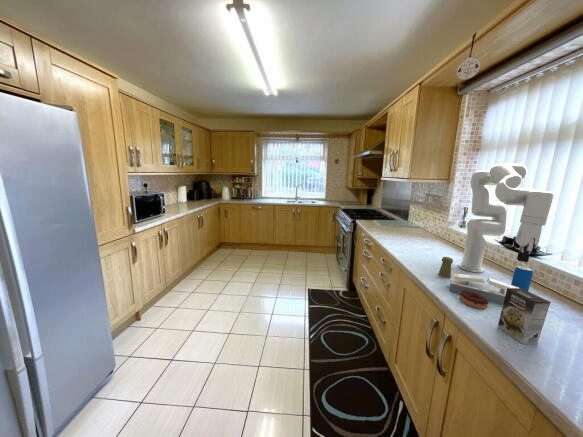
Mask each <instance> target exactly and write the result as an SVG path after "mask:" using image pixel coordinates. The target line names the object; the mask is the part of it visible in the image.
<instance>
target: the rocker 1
mask: <svg viewBox="0 0 583 437" xmlns="http://www.w3.org/2000/svg"><path fill="white" fill-rule="evenodd" d="M453 277H454V279H455V280H460V281H469V282H472V283H478V284H480V283H481V284H484V281H485V280H484V277H483V276H482V275H475V274H474V275H471V274H464V273H463V274H461V273H459V274H458V273H454V276H453Z"/></svg>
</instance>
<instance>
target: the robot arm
mask: <svg viewBox="0 0 583 437" xmlns="http://www.w3.org/2000/svg"><path fill="white" fill-rule="evenodd" d="M527 174H528V169H527V167H526V165H524V164H521V163H497V164H495V165H493V166H492V167H490V169H488V170H487V169H485V170H484V169H482V170H481V169H480V170H477V171H475V172H474V173H473V174H472V175H471V178H470V188H471V190H472V197H471V198H472V199H471V200H472V201H471V214H472V215H473V216H475V217H481V218H471V219H470V220H468V222H467V224H466V229H467V230H466V232H467V234H466V240H465V244H464V249H463V250H464V251H463V256H462V260H461V262H458V264H457V266H458V267H459V268H460V269H463V270H465V271H468V272H471V273H479V274H480V273H484V272H485V269H484V268H483V267H482V265H483V260H484V255H485V251H486V246H487V241H486V239H485V237H484V236H493V237H500V236H503V235H505V232H506V226H507V215H508V212H507V211H508V210H507V206H518V207H519V206H522V207H523V209H522V212H521V215H520V220H519V223H520V225H519V228H518V231H517V233H516V234H517V235H516V236H515V240H514V241H515V243H516V244H517V245H519V251H518V253H517V257H516V260H517V261H518V262H524V263H528V262H529V258H530V255H531V252H533V249H537V248H538V246H539V243H540V239H541V235H542V232H543V231H542V230H543V226H546V224H547V222H548V221H547V220H548V217H549V214H550V210H551V206H552V204H553V199H554V193H553V192H552V191H548V190H547V191H546V190H541V189H540V190H539V189H531V188H518V187H519V186H520V185H521V184H522V182H523V180H524V179H525V178H526V176H527ZM488 186H495V189H494V191H495V192H494V193H495V196H496V198H497V199H498V201H496V200H495V201H492V200H491V198H492V192H491V190H490V189H489V188H488ZM482 217H483V218H482ZM488 218H492V219H488Z"/></svg>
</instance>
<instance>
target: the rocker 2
mask: <svg viewBox="0 0 583 437" xmlns="http://www.w3.org/2000/svg"><path fill="white" fill-rule="evenodd" d="M486 282H487V284H488V285H490V286H491V287H492V286H493V287H494V288H498V289H504V290H507V288H517V289H519V288H518V287H516V286H512V285H511V284H509V283H505V282H502V281H499V280H498V279H497V280H496V279H493V278H491V277H488V279H487V281H486Z"/></svg>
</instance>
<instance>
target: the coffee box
mask: <svg viewBox="0 0 583 437" xmlns="http://www.w3.org/2000/svg"><path fill="white" fill-rule="evenodd" d="M550 306H551V301H549V300H547V299H545V298H543V297H541V296H538V295H537V294H535V293H532V292H530V291H526V290H524V289H522V288H519V289H517V288H507V291H506V295H505V299H504V303H503V305H502V308H501V312H500V315H499V319H498V324H497V328H499V329H500V330H501V331H503V332H504V333H506V334H507V335H508V336H510V337H512V338H513V339H515V341H517V342H518V343H520V344H522V345H530V344H531V345H534V344H535V345H537V344H539V340H540V337H541V334H542V330H543V327H544V324H545V322H546V318H547V314H548V312H549V308H550Z"/></svg>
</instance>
